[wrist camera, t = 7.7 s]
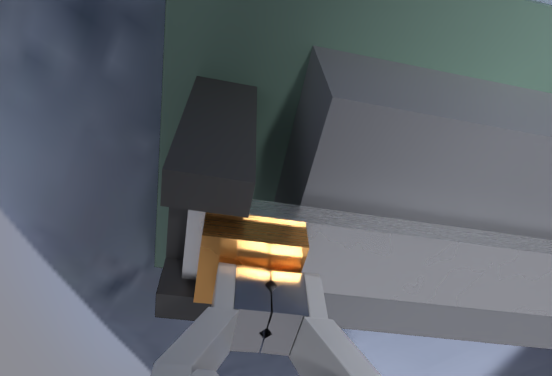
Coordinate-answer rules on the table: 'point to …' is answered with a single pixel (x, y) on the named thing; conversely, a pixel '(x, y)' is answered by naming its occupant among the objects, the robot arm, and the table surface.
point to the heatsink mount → (360, 132)
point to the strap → (375, 257)
